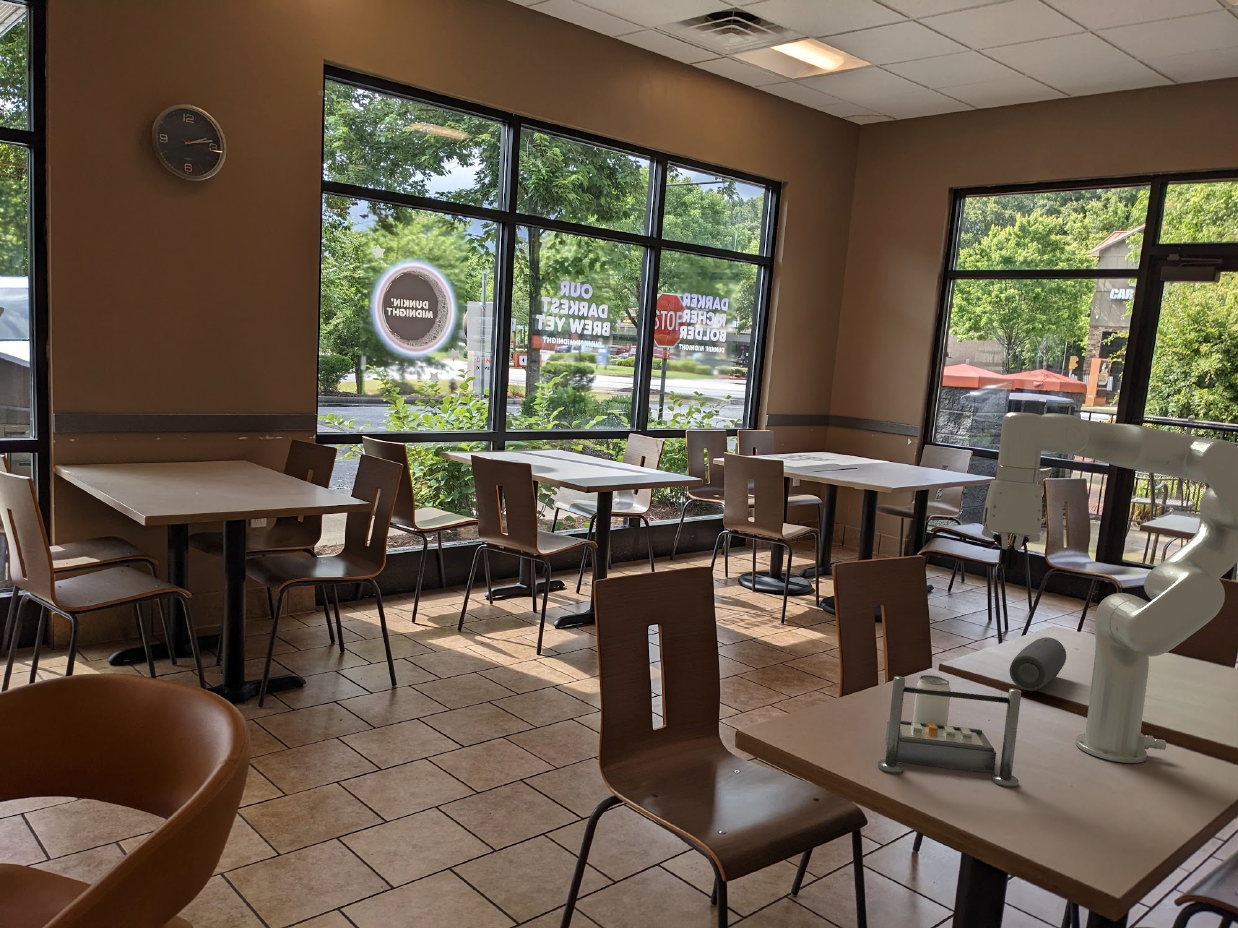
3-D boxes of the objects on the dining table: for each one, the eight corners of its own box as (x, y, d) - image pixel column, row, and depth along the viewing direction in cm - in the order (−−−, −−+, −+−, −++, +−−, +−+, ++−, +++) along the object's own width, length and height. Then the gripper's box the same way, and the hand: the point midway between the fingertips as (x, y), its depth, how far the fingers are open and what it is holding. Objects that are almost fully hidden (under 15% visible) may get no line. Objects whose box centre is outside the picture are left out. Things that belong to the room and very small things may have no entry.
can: (947, 746, 186) (954, 686, 184) (913, 741, 187) (919, 682, 186) (943, 734, 192) (949, 676, 191) (909, 729, 193) (915, 672, 192)
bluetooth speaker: (1026, 669, 242) (1031, 631, 241) (1066, 678, 237) (1070, 639, 236) (1004, 690, 224) (1008, 648, 223) (1046, 700, 218) (1051, 658, 217)
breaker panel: (980, 752, 184) (983, 723, 183) (993, 773, 174) (997, 742, 173) (885, 741, 186) (888, 712, 185) (893, 761, 176) (896, 731, 176)
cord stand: (1014, 778, 172) (1024, 687, 170) (1021, 788, 168) (1031, 695, 166) (876, 762, 175) (885, 672, 174) (879, 771, 171) (888, 680, 169)
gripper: (1051, 477, 188) (1040, 568, 190) (972, 471, 190) (963, 561, 191) (1063, 481, 180) (1052, 576, 182) (982, 474, 182) (972, 568, 184)
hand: (1006, 568), depth 187 cm, fingers closed
